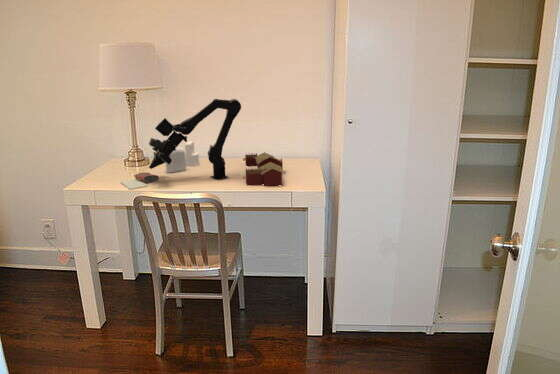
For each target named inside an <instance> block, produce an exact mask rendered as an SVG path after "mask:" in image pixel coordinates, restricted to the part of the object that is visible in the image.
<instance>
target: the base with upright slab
mask: <svg viewBox="0 0 560 374" xmlns="http://www.w3.org/2000/svg"><path fill="white" fill-rule="evenodd" d="M184 151H185V164H186V167H187V168H188V167H189V168H190V167H191V168H192V167H197V166H199V165H200V157H199V156H200V155H199V152H197V151H196V152H195V141H194V140H187V142H185V143H184Z"/></svg>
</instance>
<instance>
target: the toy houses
mask: <svg viewBox="0 0 560 374" xmlns="http://www.w3.org/2000/svg"><path fill="white" fill-rule="evenodd" d="M244 156H245V157H244V158H242V161H243V162H245V166H248V168H247V167H246V168H245V175H243V176H242V180H245V183H246V184H247V185H252V186H263V187H264V186H268V187H280V186H279V185H282V186H283V174H285V172H284V170H283V167H284V166H283V164H284V163H283V158H276V157H275V156H273V155H272V154H269V153H267V152H264V151H263V152H262V153H260V154H259V155H258V153H255V152H253V153H250V152H248V154H245V155H244ZM249 167H250V168H249ZM282 173H283V174H282ZM262 184H264V185H262ZM247 185H246V186H247Z"/></svg>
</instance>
